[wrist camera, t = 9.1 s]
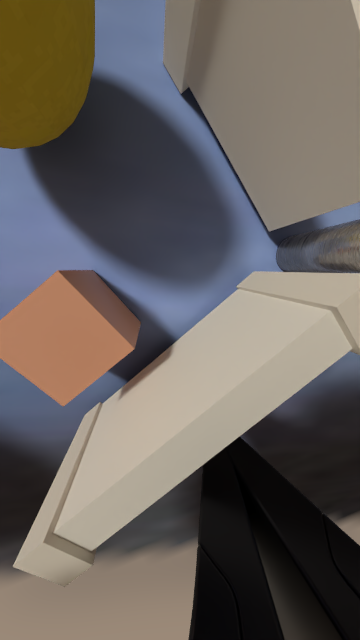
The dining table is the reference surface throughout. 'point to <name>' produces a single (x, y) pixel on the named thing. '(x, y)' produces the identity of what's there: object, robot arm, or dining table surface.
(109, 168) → the dining table surface
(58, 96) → the lemon
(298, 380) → the gate
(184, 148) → the dining table surface
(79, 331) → the block
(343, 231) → the hinge post
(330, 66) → the fence panel
